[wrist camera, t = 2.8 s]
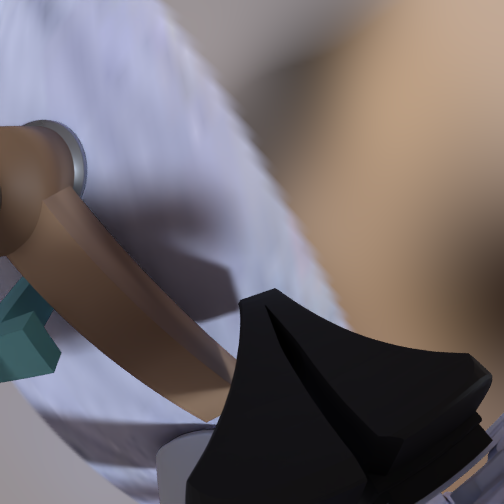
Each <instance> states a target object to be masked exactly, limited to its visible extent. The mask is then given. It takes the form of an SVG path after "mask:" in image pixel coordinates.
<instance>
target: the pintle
mask: <svg viewBox="0 0 504 504" xmlns="http://www.w3.org/2000/svg"><path fill="white" fill-rule="evenodd" d="M24 126H43V127H47V128H50V129H52V130H54V131H55V132H57V133H58V134H59V135H60V136H61V137H62V138H63V139H64V141H65V142H66V144H67V145H68V147H69V149H70V151H71V154H72V158H73V162H74V171H75V176H74V186H73V189H74V191H75V192H76V193H77V195H78V196H79V197H80V198H81V197H82V194H83V192H84V189H85V184H86V179H87V162H86V156H85V152H84V149H83V146H82V144H81V142H80V140H79V139H78V137H77V136H76V134H75V133H74V132H73V131H72V130H71V129H70V128H68V127H67V126H65V125H64V124H62V123H59V122H56V121H51V120H38V121H33V122H30V123H28V124H26V125H24ZM1 205H2V192H1V187H0V210H1Z"/></svg>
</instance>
